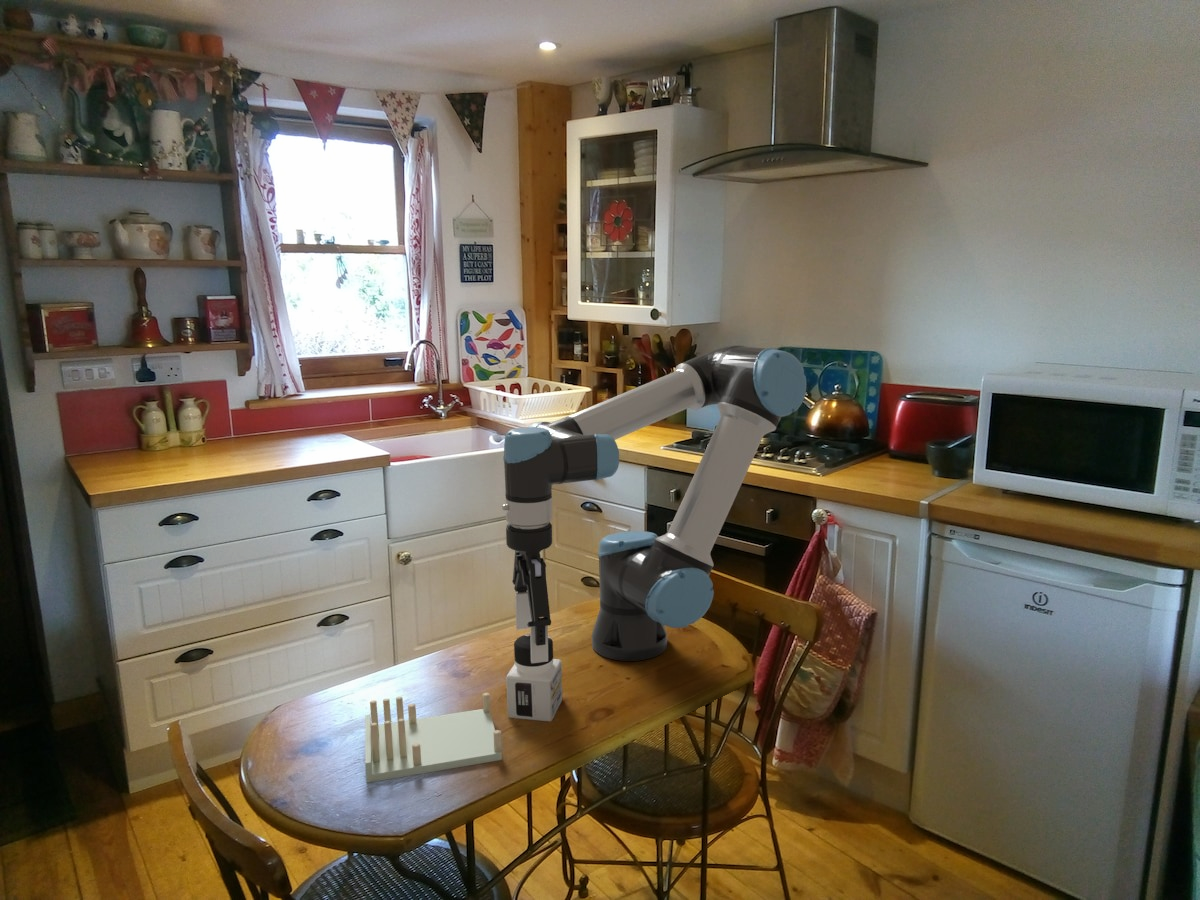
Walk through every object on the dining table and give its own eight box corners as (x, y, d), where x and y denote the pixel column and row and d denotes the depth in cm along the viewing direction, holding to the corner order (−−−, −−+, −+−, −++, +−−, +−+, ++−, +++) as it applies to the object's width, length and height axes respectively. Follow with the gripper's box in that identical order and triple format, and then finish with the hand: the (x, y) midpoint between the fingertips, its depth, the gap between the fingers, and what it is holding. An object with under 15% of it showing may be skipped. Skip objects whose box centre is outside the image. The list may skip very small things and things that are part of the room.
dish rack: (490, 714, 139) (488, 675, 137) (503, 759, 126) (501, 716, 124) (366, 733, 134) (363, 692, 132) (366, 782, 120) (363, 738, 119)
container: (551, 722, 136) (549, 650, 133) (507, 718, 138) (504, 646, 135) (563, 699, 143) (561, 630, 141) (520, 695, 145) (518, 627, 142)
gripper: (494, 505, 144) (497, 618, 149) (520, 547, 121) (522, 680, 125) (536, 501, 146) (538, 613, 151) (569, 543, 123) (570, 674, 127)
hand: (531, 644), depth 138 cm, fingers open, 13 cm apart
